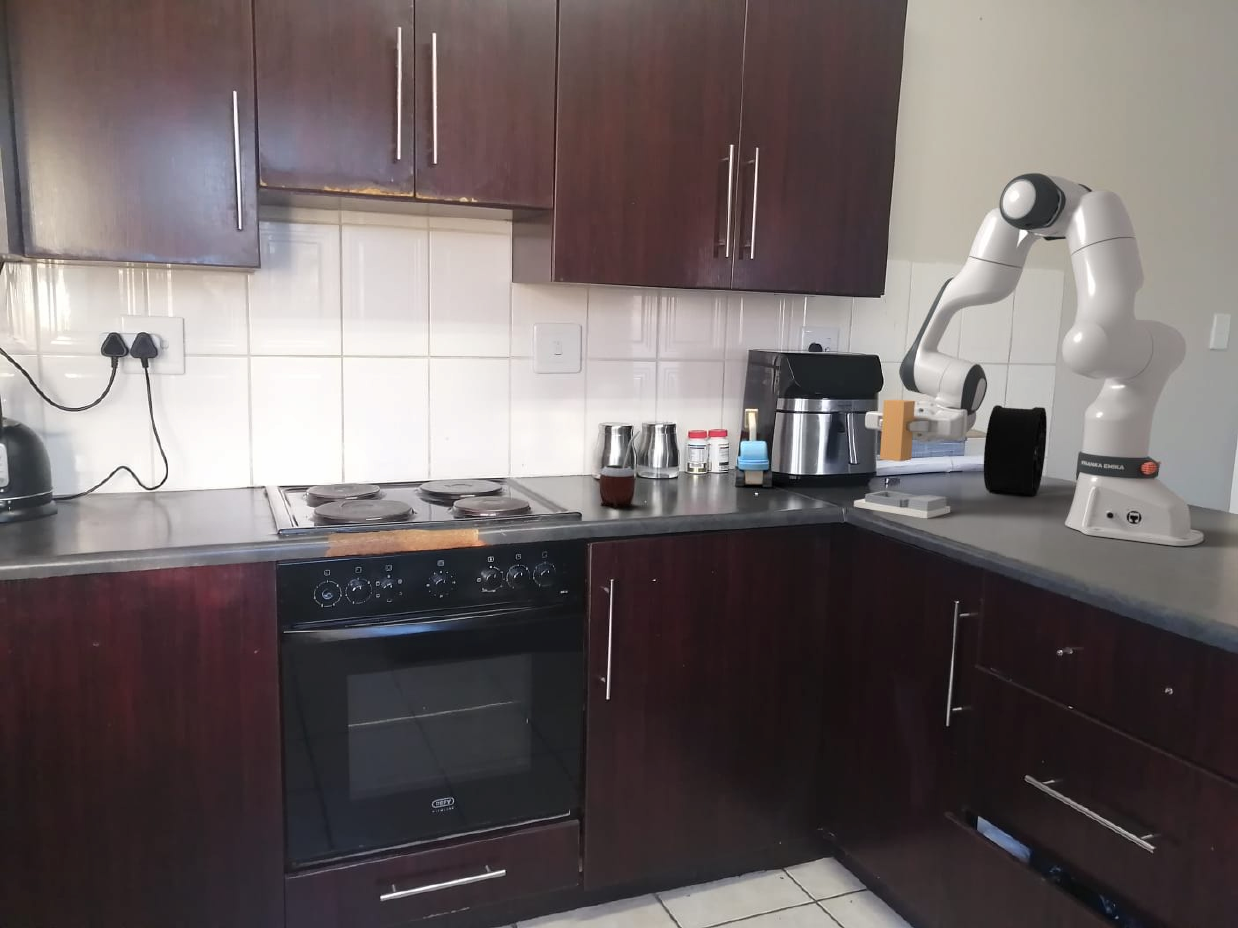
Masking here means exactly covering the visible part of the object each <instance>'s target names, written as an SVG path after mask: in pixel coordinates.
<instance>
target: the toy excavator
mask: <svg viewBox="0 0 1238 928" xmlns="http://www.w3.org/2000/svg"><path fill="white" fill-rule="evenodd" d="M758 419H759V409H758V408H754V409H753V408H745V410H744V429H749V440H743V441H741V442H740V446H739V447H740V449H739V450H740V456H739V455H738V457H737V465H735V466H734V474H733V478H734V487H735V488H736V487H737V488H738V487H740V488H741V487H744V486H745V485H762V487H763V488H771V487H772V484H773V481H772V480H773V471H772V467H771V466H770V460H769V458H768V445H767V442H766V441H764V440H757V429H758V421H759V420H758Z"/></svg>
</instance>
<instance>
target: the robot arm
mask: <svg viewBox="0 0 1238 928" xmlns="http://www.w3.org/2000/svg"><path fill="white" fill-rule="evenodd" d="M998 204H999V206H998V207H996V208H993V209H991V210H990V211H989V212H988V213H987V214H986V216H985V217H984V219H983V221H982V222H981V225H980V226H979V229H978V231H977V232H976V235H975V238H974V240H973V241H972V242H973V243H972V245H971V247H970V252H969V254H968V256H967V260H966V263H964V265H963V267H962V269H961V270H960V271H959V272H958V273H957V275H956V276H955V277H952V278H948V279H947V280H946V281H945V282H944V283H943V285H942V286H941V288H940V290H939V292H937V293H938V294H937V295H936V296H935V299H934V300H933V303H932V304H931V306H930V309H929V311H928V313H927V314H926V317H925V319H924V321H923V323H922V325H921V328H919V331H918V333H917V335H916V338H915V340H914V342H913V343H912V345H911V347H910V348H909V349H908V351H907V353H906V354H905V356H904V358H903V359H902V361H901V363H900V366H899V370H898V371H899V372H898V374H899V377H900V380H901V382H902V384H903V386H904V388H905V389H906V390H907V391H909V392H913V393H918V394H921V395H927V396H929V397H933V398H935V399H933V400H922V401H919V402H918V401H917V402H915V409H914V422H912V421H909V422H906V430H908V431H913V438H912V440H915V441H916V442H918V443H927V444H928V443H933V442H942V441H964V440H966V437H967V433H968V432H969V431H971V430H972V428H973V427H974V425H975V423H976V421H977V411H978V410H979V409H980V407H981V405H982V403H983V401H984V399H985V397H986V393H987V389H988V381H987V376H986V373H985V370H984V369H983V367H982V365H980V364H978V363H976V362H973V361H969V360H967V359H964V358H959V357H956V356H952V355H948V354H946V353H943V352H940V351H939V350H938V346H939V344H940V342H941V340H942V338H943V335H944V334H945V332H946V330H947V328H948V326H949V324H950V322H951V320H952V318H953V317H954V315H955V314H957V312H959V311H960V310H962V309H965V308H968V307H969V308H971V307H976V306H977V307H978V306H984V305H985V306H987V305H992V304H996V303H999V302H1000V301H1002V300H1005V299H1006V298H1008V297H1009V296H1011V295H1012V293H1013V292H1014V291H1015V290H1016V289H1017V286H1018V284H1019V281H1020V279H1021V276H1022V273H1023V271H1024V267H1025V265H1026V261H1027V257H1028V254H1029V251H1030V250H1031V247H1032V246H1033V245H1034V243H1036V241H1038V240H1040V239H1043V240H1044V241H1051V242H1052V241H1056V240H1057V241H1058V240H1065V239H1066V241H1067V246H1068V250H1069V256H1070V261H1071V265H1072V271H1073V275H1074V277H1073V278H1074V282H1075V289H1076V294H1077V299H1076V300H1077V303H1076V313H1075V319H1074V322H1073V325H1072V326H1071V328H1070V329H1069V330H1068V331H1067V333H1066V335H1064V336H1065V337H1064V338H1063V341H1062V345H1061V355H1062V359H1063V362H1064V364H1065V365H1066V367H1067V368H1068V370H1070V371H1072V373H1075V374H1077V375H1080V376H1082V377H1086V378H1091V379H1094V380H1104V383H1103V386H1102V387H1101V390H1100V392H1099V395H1098V396H1097V398H1096V399H1095V400H1094V401H1093V402H1092V403H1091V404H1090V405H1089V406H1087V408H1086V410H1085V412H1084V417H1083V427H1082V439H1081V450H1080V451H1079V452H1078V453H1077V454H1078V455H1077V459H1076V467H1075V475H1076V477H1075V479H1076V480H1075V481H1076V486H1075V492H1074V495H1073V499H1072V503H1071V506H1070V509H1069V512H1068V515H1067V518H1066V520H1065V522H1064V525H1065V527H1068V528H1071V529H1074V530H1077V531H1079V532H1081V533H1083V534H1085V535H1088V536H1095V537H1101V538H1102V537H1103V538H1113V539H1118V540H1126V541H1127V540H1128V541H1134V542H1143V543H1150V544H1160V545H1166V546H1167V545H1168V546H1173V547H1174V546H1176V547H1185V546H1187V547H1188V546H1194V545H1198V544H1200V543H1202V542H1203V541H1204V533H1203V532H1202V531H1200V530H1196V529H1191V514H1190V512H1191V511H1190V508H1189V505H1188V503H1187V502H1186V501H1185V500H1184V499H1183V498H1181V497H1180V496H1179V495H1178V494H1176V493H1175V492H1174V491H1173V490H1172V489H1170V488H1169V487H1168V486H1167V485H1166V484H1164V483H1163V482H1162V481H1161V480H1160V479H1159V478H1158V477H1159V472H1160V468H1161V464H1162V462H1161V461H1157V460H1155V459H1153V458H1152V457H1150V455H1149V450H1150V449H1149V448H1150V441H1151V433H1152V425H1153V419H1154V414H1155V410H1156V408H1157V405H1158V403H1159V399H1160V396H1162V395H1161V394H1162V392H1163V390H1164V388H1165V386H1166V384H1167V382H1168V379H1169V378H1170V377H1171V376H1172V374H1173V373H1174V372H1175V371H1176V370H1177V369H1178V368H1179V367H1180V366H1181V365H1182V363H1183V361H1184V360H1185V357H1186V353H1187V344H1186V340H1185V337H1184V335H1183V334H1182V333H1181V332H1180V331H1179V330H1178V329H1177V328H1175V327H1173V326H1171V325H1168V324H1166V323H1163V322H1160V321H1157V320H1152V319H1151V320H1150V319H1146V320H1145V319H1136V316H1135V301H1136V295H1137V293H1138V292H1139V291H1140V290H1141V289H1142V287H1143V285H1144V284H1145V283H1144V282H1145V276H1144V270H1143V266H1142V261H1141V256H1140V252H1139V247H1138V242H1137V239H1136V234H1135V231H1134V227H1133V224H1132V220H1131V218H1130V216H1129V212H1128V210H1127V208H1126V206H1125V204H1124V203H1123V200H1122V198H1121V196H1119V194H1117V193H1116V192H1115V191H1114V192H1113V191H1110V190H1104V189H1103V190H1102V189H1101V190H1092V189H1091V188H1090V187H1088V186H1087V185H1084V184H1081V183H1076V182H1074V181H1072V180H1068V179H1066V178H1064V177H1061V176H1055V175H1049V174H1042V173H1037V172H1033V173H1031V172H1030V173H1024V174H1020V175H1018V176H1015V177H1014V178H1013V179H1011V180H1010V181H1008V183H1006V185H1005V187H1004V188H1003V190H1002V193H1001V194H1000V198H999V203H998ZM882 419H883V410H875V411H872V410H871V411H867V412H866V413H865V418H864V427H865V428H867V429H869V430H879V431H880V430H881V431H882Z"/></svg>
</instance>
